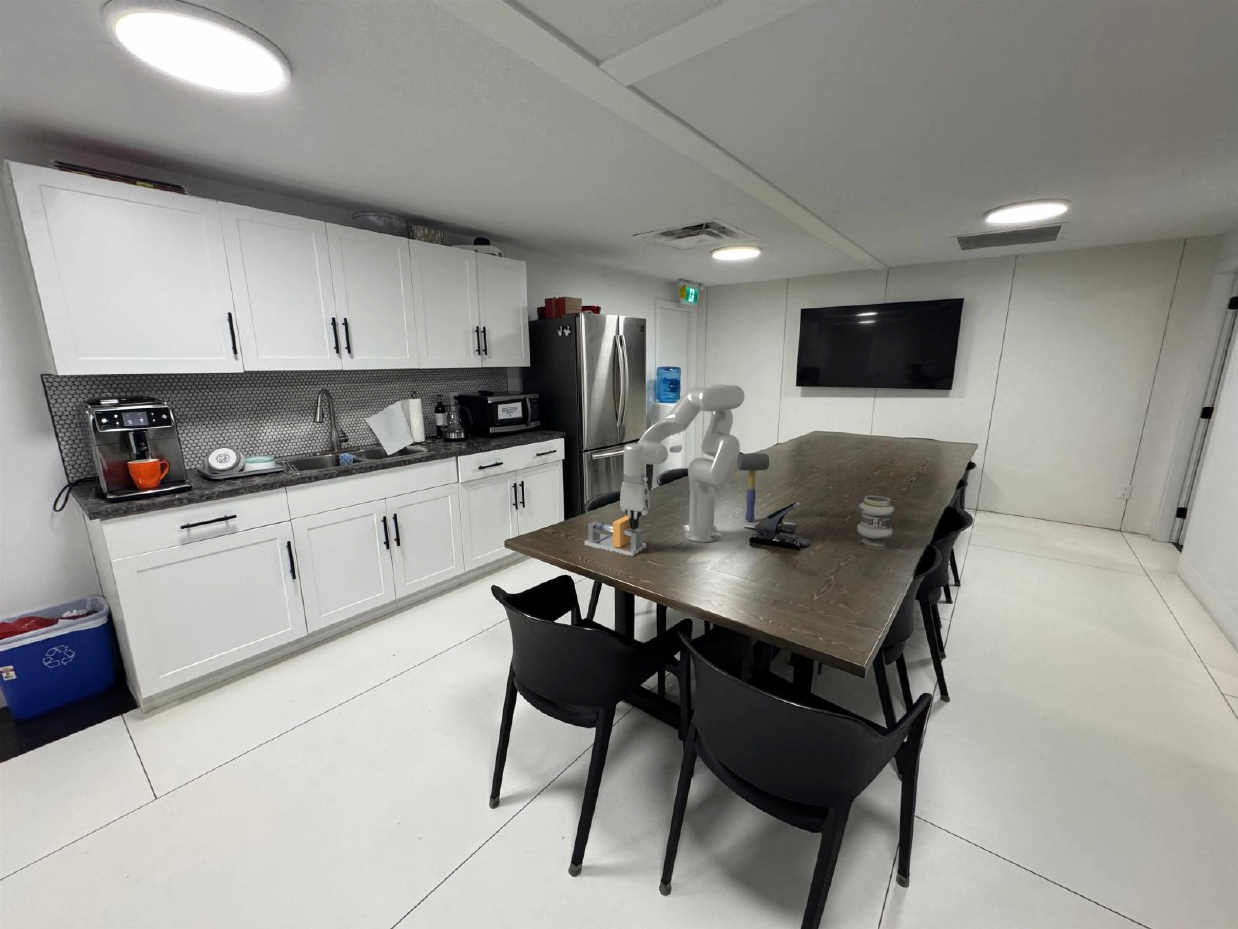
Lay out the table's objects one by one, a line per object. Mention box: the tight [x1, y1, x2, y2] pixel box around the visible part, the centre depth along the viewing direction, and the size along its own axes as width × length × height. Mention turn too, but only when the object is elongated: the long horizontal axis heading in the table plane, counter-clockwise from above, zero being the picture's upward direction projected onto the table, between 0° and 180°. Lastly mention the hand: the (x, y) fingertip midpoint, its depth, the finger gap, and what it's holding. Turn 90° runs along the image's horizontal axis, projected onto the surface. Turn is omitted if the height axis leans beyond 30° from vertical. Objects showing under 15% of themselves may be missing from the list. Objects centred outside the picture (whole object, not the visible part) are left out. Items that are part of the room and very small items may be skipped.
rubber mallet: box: [736, 452, 770, 522], centre depth 205 cm, size 12×8×30 cm, turn 90°
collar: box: [612, 515, 633, 547], centre depth 176 cm, size 3×9×9 cm, turn 147°
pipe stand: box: [584, 519, 647, 557], centre depth 179 cm, size 21×10×8 cm, turn 57°
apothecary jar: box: [856, 495, 896, 550], centre depth 179 cm, size 12×12×18 cm
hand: (634, 528), depth 173 cm, fingers closed
